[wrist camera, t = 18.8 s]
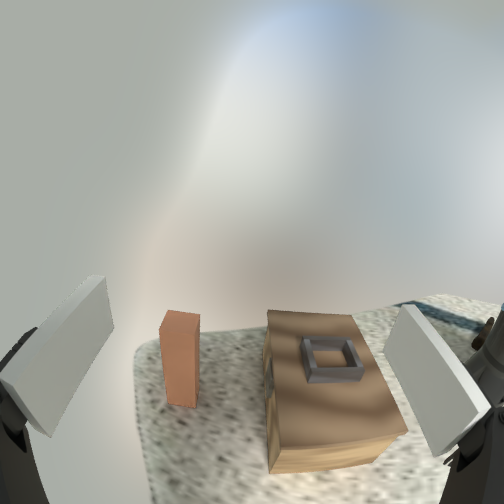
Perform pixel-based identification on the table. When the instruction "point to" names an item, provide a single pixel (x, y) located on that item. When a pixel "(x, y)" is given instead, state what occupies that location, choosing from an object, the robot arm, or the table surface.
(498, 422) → the robot arm
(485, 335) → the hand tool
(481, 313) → the table surface
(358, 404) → the wooden socket base
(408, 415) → the table surface
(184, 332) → the wooden peg
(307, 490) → the table surface
